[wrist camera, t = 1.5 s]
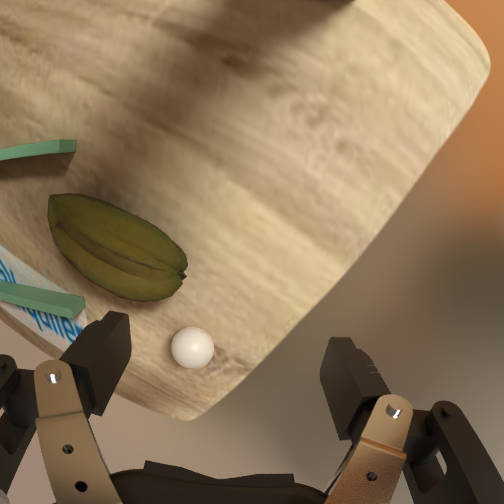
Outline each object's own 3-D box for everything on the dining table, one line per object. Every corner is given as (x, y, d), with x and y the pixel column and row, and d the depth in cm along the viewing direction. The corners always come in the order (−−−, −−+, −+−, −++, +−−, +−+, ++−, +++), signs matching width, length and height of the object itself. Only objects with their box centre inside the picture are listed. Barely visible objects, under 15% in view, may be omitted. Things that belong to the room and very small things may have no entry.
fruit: (105, 296, 29) (77, 326, 22) (68, 191, 25) (29, 202, 19) (200, 273, 28) (187, 306, 22) (164, 152, 24) (137, 151, 18)
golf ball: (216, 321, 29) (212, 345, 25) (215, 353, 31) (211, 380, 26) (175, 316, 29) (165, 340, 25) (176, 349, 30) (168, 374, 26)
